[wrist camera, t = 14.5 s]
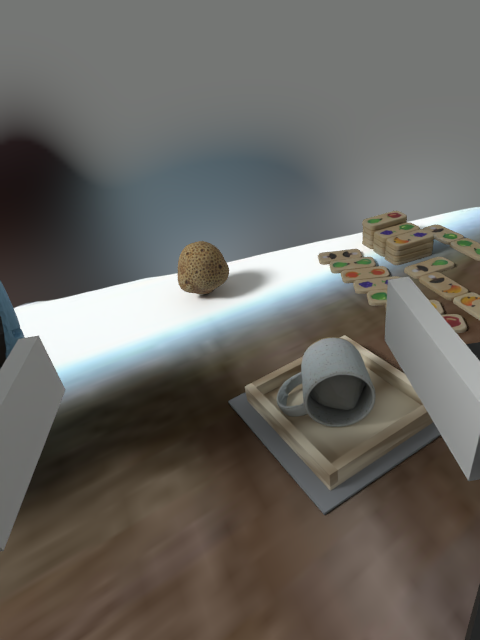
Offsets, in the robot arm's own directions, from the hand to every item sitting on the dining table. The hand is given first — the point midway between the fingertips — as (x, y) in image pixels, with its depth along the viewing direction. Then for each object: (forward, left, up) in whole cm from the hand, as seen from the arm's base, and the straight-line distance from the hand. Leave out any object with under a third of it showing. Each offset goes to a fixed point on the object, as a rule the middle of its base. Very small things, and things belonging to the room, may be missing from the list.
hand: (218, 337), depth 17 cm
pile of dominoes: (-32, +52, -30) cm, 68 cm away
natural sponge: (-54, +20, -30) cm, 64 cm away
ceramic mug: (-17, +18, -29) cm, 38 cm away
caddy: (-17, +19, -29) cm, 39 cm away
